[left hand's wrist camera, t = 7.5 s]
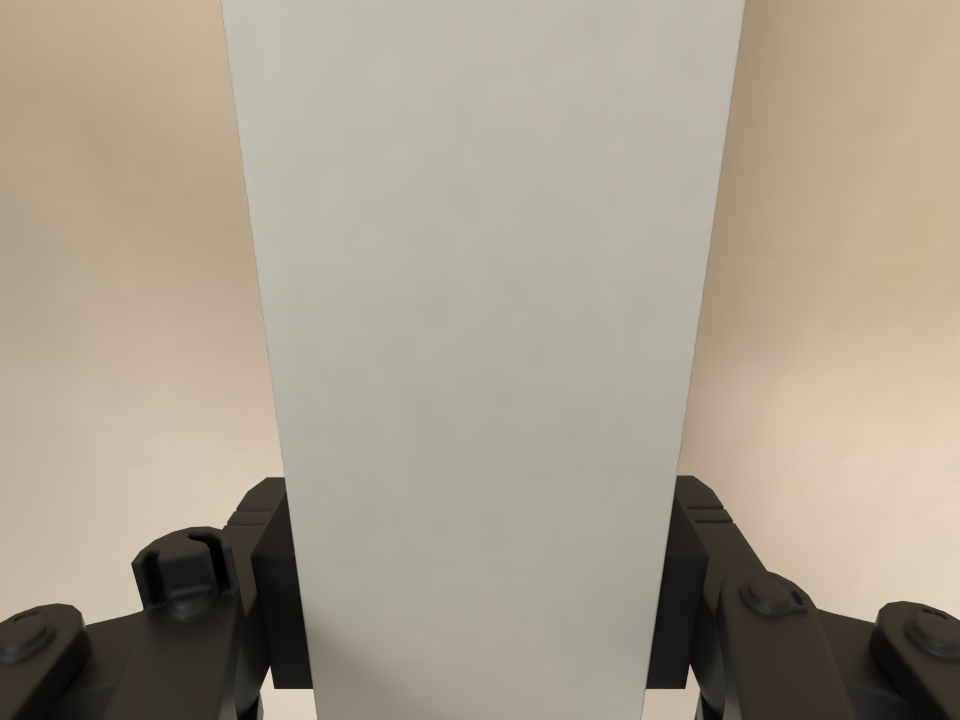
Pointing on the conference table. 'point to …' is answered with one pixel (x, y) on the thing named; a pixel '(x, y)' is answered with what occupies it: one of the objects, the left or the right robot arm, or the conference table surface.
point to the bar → (481, 331)
